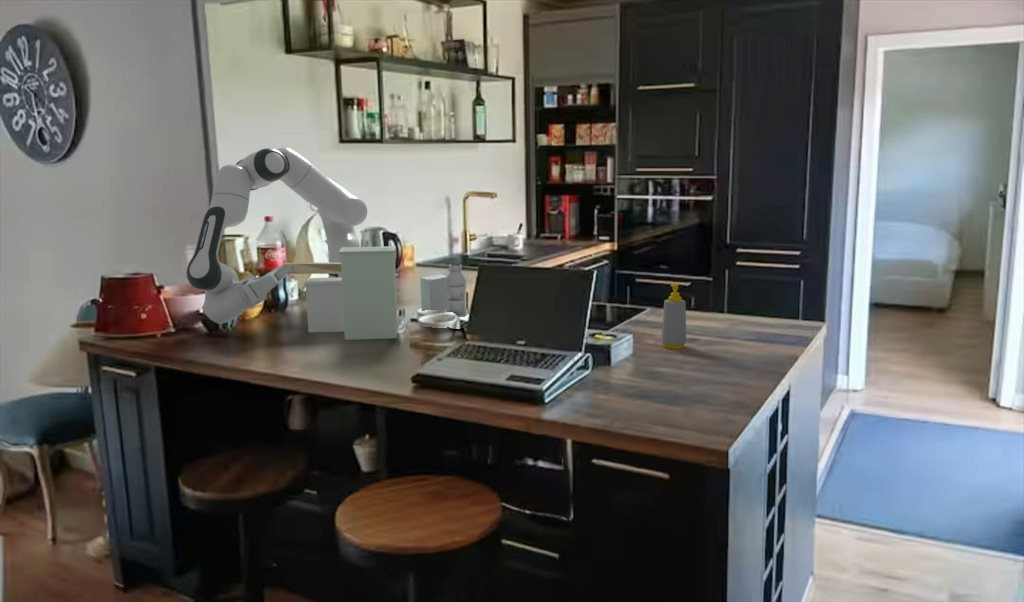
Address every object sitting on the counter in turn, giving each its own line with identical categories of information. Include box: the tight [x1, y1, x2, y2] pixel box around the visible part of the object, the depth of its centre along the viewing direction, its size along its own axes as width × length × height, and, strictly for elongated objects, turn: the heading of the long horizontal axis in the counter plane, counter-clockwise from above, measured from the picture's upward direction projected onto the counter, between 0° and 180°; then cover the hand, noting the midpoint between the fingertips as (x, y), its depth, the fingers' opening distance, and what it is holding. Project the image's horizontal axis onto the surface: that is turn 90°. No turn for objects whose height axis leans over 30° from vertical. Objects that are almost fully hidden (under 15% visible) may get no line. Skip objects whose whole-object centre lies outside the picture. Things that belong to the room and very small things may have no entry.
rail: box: [282, 261, 341, 275], centre depth 245 cm, size 3×24×3 cm, turn 96°
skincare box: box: [419, 273, 448, 312], centre depth 254 cm, size 8×6×15 cm
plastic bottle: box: [445, 263, 468, 317], centre depth 244 cm, size 6×7×20 cm
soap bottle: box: [660, 281, 687, 350], centre depth 220 cm, size 7×7×18 cm
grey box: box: [304, 277, 344, 334], centre depth 247 cm, size 10×12×15 cm
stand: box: [339, 245, 399, 341], centre depth 236 cm, size 10×16×26 cm, turn 96°
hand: (292, 266), depth 244 cm, fingers closed on rail, 3 cm apart
